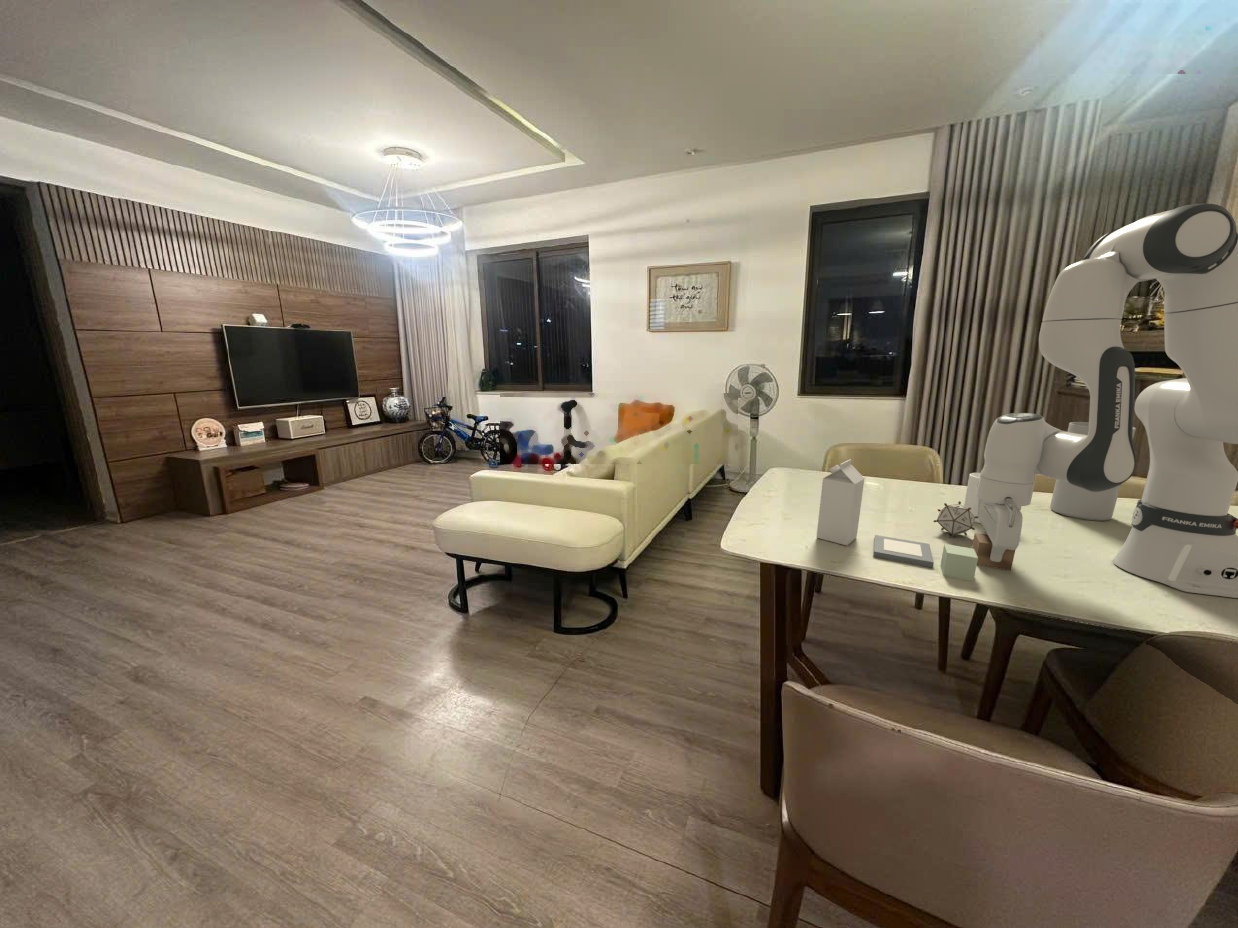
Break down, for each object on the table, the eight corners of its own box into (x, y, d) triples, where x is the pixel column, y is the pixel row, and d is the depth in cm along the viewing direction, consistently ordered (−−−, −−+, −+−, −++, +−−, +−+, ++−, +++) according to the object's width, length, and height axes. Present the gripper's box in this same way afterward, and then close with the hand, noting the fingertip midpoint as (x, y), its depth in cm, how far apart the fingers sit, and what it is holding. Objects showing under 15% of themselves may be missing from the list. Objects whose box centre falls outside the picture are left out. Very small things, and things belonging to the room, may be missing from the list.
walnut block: (1004, 559, 101) (1009, 538, 100) (1010, 570, 96) (1015, 548, 95) (970, 553, 104) (974, 532, 103) (975, 564, 99) (979, 542, 98)
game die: (959, 550, 115) (992, 529, 107) (926, 536, 116) (955, 514, 108) (955, 523, 121) (985, 501, 113) (923, 510, 121) (951, 487, 114)
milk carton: (856, 537, 113) (866, 461, 108) (847, 546, 108) (857, 466, 103) (826, 530, 117) (835, 457, 113) (816, 538, 112) (824, 461, 108)
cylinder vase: (1038, 505, 137) (1057, 421, 131) (1086, 507, 136) (1107, 422, 130) (1072, 520, 125) (1094, 428, 119) (1125, 523, 124) (1150, 429, 118)
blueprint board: (928, 548, 107) (929, 543, 106) (932, 567, 97) (933, 561, 97) (874, 539, 112) (874, 534, 111) (873, 556, 102) (874, 551, 102)
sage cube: (969, 571, 96) (973, 548, 95) (973, 581, 92) (978, 558, 90) (940, 566, 98) (944, 544, 97) (942, 575, 94) (947, 552, 93)
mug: (985, 511, 132) (994, 470, 129) (1017, 522, 124) (1027, 478, 121) (952, 515, 129) (960, 473, 126) (983, 526, 121) (992, 481, 118)
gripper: (1037, 508, 86) (1022, 577, 89) (1012, 482, 104) (999, 540, 107) (995, 503, 89) (981, 569, 92) (976, 478, 107) (966, 535, 110)
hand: (991, 553), depth 100 cm, fingers closed on walnut block, 6 cm apart
